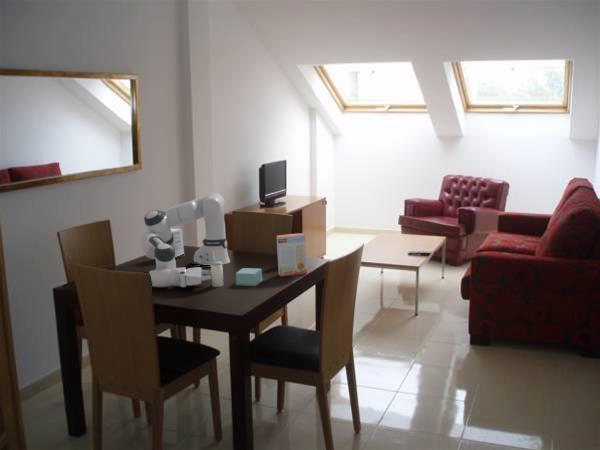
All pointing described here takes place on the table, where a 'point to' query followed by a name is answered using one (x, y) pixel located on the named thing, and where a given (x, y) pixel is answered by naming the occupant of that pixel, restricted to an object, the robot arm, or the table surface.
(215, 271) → the canister
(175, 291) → the table surface
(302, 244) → the cracker box
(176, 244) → the white carton
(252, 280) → the plinth
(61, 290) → the table surface
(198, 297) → the table surface
